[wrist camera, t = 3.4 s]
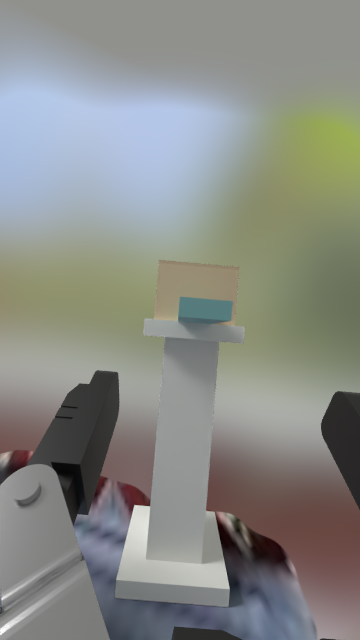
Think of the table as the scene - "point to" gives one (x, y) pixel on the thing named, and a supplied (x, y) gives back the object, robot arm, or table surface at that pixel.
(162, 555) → the stand
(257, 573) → the table surface
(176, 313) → the carton
